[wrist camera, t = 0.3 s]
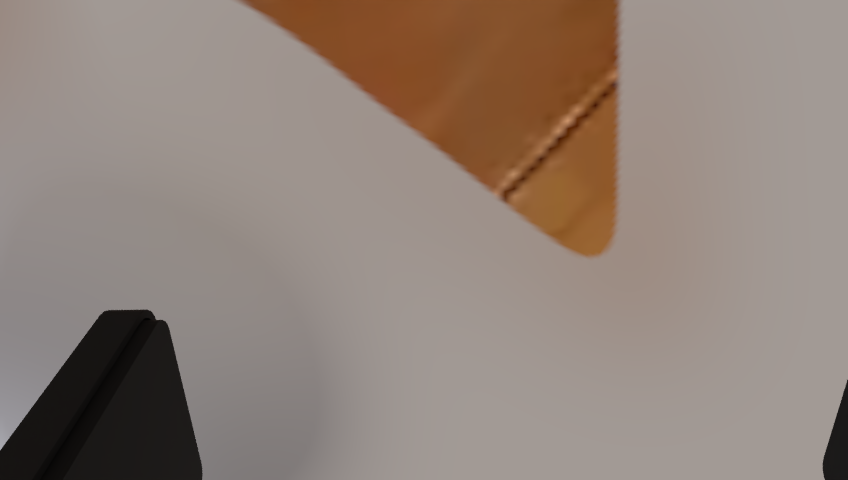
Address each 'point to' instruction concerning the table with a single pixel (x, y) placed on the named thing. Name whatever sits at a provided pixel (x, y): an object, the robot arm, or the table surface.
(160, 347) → the robot arm
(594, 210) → the table surface
